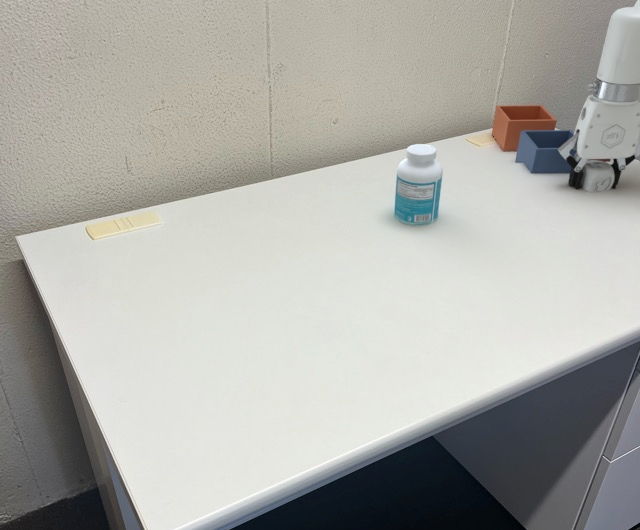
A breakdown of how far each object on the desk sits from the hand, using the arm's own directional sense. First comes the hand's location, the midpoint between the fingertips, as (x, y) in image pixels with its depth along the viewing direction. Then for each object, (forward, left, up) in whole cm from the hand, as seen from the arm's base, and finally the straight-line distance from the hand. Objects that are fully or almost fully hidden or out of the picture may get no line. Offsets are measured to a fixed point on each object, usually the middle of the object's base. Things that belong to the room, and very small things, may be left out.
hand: (591, 187), depth 114 cm
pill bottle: (+35, +11, -1) cm, 36 cm away
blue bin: (+5, -11, -1) cm, 12 cm away
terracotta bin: (+6, -27, -1) cm, 28 cm away
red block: (-7, -17, -1) cm, 19 cm away
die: (0, 0, -1) cm, 1 cm away
